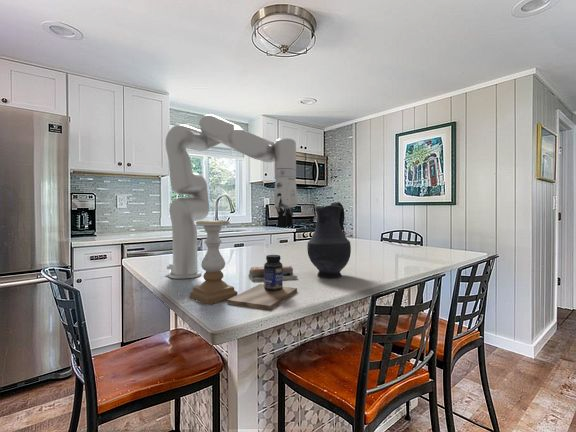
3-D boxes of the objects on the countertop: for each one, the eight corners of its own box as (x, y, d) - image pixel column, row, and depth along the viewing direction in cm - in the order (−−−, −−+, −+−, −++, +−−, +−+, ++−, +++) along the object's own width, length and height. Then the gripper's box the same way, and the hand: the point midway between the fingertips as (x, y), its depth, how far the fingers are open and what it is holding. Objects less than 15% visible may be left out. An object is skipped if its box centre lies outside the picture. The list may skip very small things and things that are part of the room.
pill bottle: (278, 292, 102) (278, 257, 101) (260, 290, 104) (260, 256, 104) (285, 287, 108) (285, 254, 107) (268, 285, 110) (268, 253, 109)
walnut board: (227, 303, 94) (227, 299, 94) (259, 287, 112) (259, 284, 112) (270, 310, 88) (270, 305, 88) (297, 291, 107) (297, 288, 107)
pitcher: (299, 276, 128) (299, 202, 127) (324, 268, 145) (324, 202, 144) (339, 283, 119) (339, 201, 117) (360, 273, 136) (361, 202, 134)
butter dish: (251, 270, 120) (248, 265, 130) (251, 283, 121) (248, 277, 130) (297, 267, 125) (291, 263, 135) (297, 280, 125) (291, 274, 135)
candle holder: (219, 290, 108) (218, 220, 107) (238, 297, 100) (237, 221, 99) (188, 297, 100) (188, 221, 99) (207, 305, 93) (206, 222, 92)
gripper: (285, 172, 103) (285, 229, 104) (303, 176, 119) (303, 225, 119) (264, 173, 106) (264, 228, 107) (285, 177, 122) (285, 225, 122)
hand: (285, 226), depth 113 cm, fingers open, 4 cm apart
